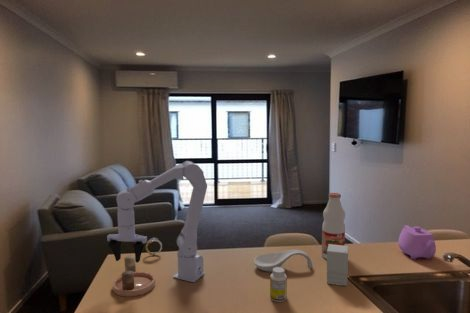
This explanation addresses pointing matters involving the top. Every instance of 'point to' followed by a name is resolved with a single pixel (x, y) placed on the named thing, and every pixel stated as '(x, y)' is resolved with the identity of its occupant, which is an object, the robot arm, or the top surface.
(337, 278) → the supplement box
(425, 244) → the purple animal planter
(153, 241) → the ring
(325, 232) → the fruit juice
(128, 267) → the beige tall rounded piece
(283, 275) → the supplement bottle
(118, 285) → the dish
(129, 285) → the brown short cylinder
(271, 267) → the spoon rest
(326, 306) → the top surface
